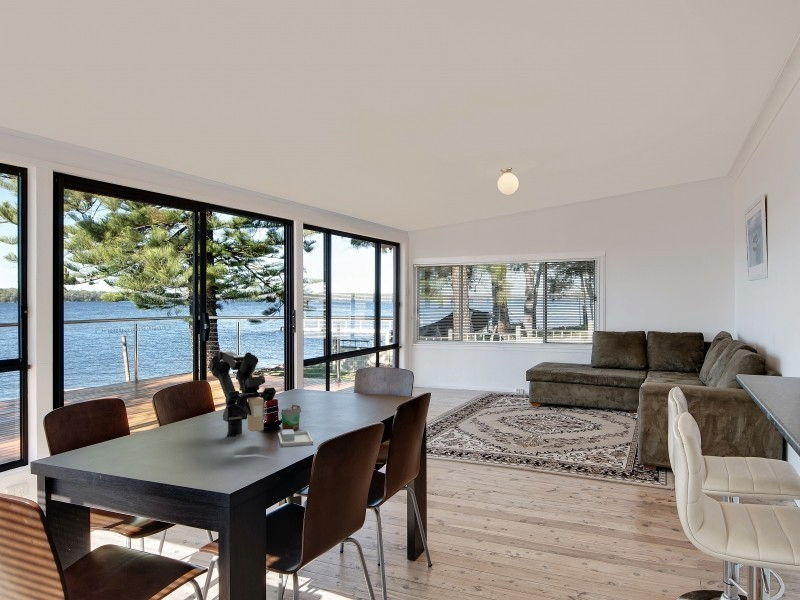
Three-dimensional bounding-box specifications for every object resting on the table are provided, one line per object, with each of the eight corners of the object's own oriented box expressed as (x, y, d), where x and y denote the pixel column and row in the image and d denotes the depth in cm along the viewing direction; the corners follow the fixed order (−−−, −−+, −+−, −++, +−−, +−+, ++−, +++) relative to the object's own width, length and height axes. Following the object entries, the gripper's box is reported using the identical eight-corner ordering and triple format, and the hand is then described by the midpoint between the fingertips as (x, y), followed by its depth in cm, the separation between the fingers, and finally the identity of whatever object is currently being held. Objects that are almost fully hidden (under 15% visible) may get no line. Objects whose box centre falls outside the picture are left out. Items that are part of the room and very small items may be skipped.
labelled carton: (247, 429, 218) (247, 398, 218) (258, 427, 221) (258, 396, 221) (252, 431, 215) (252, 399, 215) (263, 430, 217) (263, 398, 217)
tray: (278, 437, 231) (278, 432, 231) (308, 435, 234) (308, 430, 234) (280, 448, 213) (280, 443, 213) (313, 446, 216) (313, 441, 216)
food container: (295, 434, 236) (294, 410, 237) (281, 433, 238) (281, 409, 238) (305, 427, 249) (305, 404, 249) (292, 427, 250) (292, 404, 250)
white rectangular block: (281, 436, 230) (281, 430, 230) (292, 435, 231) (292, 429, 231) (282, 440, 222) (282, 434, 222) (294, 440, 223) (294, 433, 223)
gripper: (227, 370, 215) (238, 404, 207) (274, 366, 226) (286, 398, 218) (220, 388, 222) (230, 421, 213) (266, 384, 233) (277, 415, 224)
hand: (256, 414), depth 217 cm, fingers closed on labelled carton, 4 cm apart
